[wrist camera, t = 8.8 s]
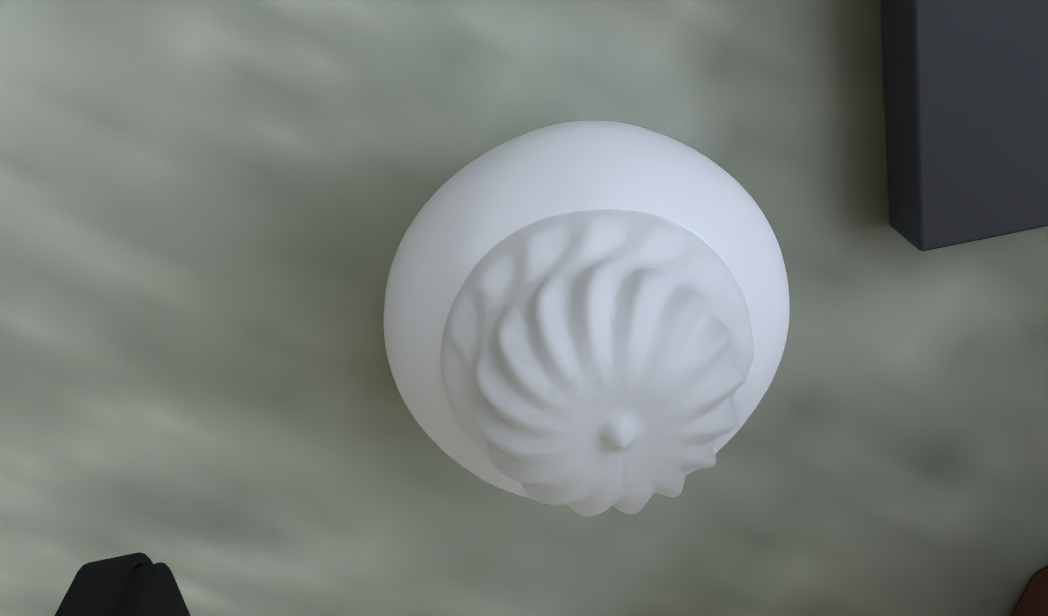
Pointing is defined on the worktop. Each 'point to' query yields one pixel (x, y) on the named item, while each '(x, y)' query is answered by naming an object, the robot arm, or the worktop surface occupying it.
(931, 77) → the scale
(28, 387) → the worktop surface
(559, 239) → the muffin
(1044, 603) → the ice cream bowl
